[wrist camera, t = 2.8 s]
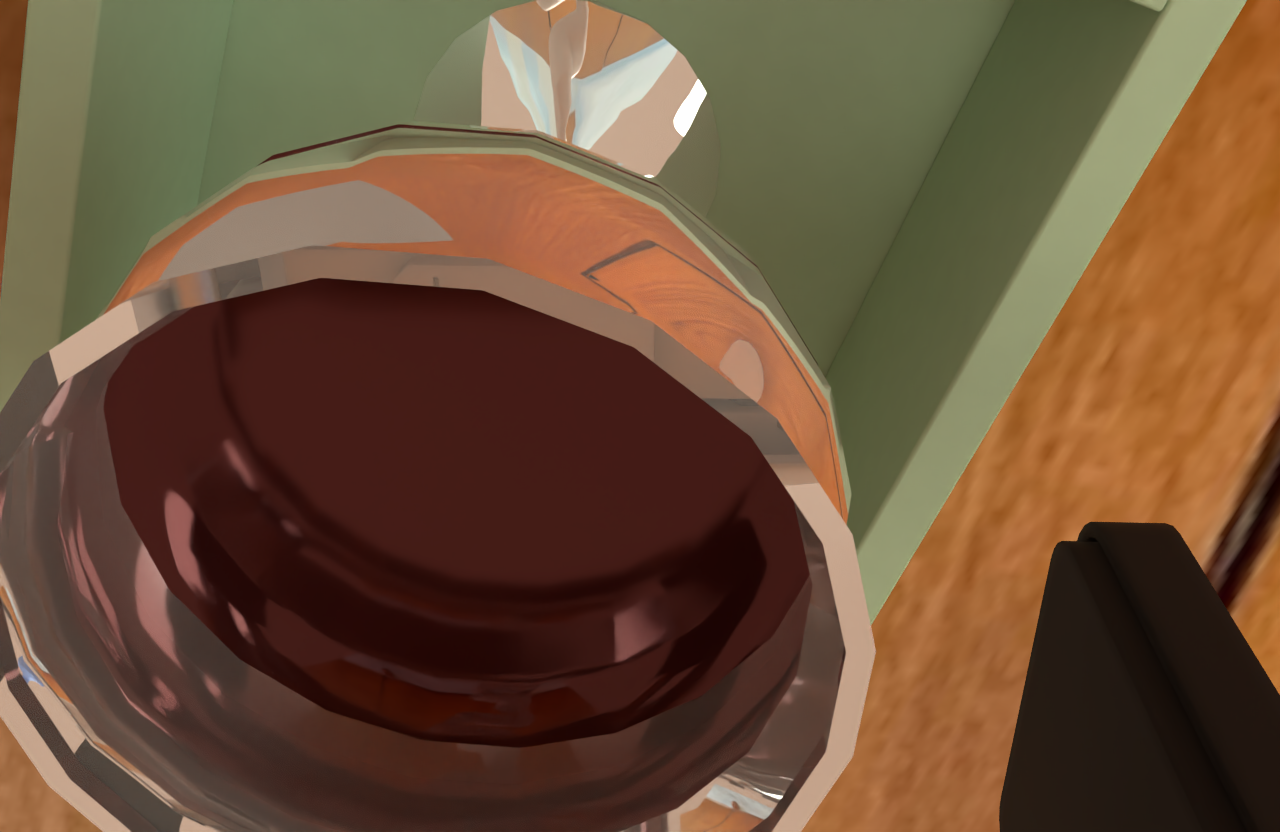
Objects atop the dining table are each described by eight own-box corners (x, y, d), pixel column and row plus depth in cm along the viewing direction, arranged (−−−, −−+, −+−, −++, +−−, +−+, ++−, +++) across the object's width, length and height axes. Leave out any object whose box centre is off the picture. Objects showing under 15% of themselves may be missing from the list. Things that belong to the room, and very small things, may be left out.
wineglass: (863, 182, 19) (1068, 722, 9) (556, 416, 21) (430, 1058, 11) (578, -173, 17) (390, -14, 6) (268, 135, 19) (-240, 620, 9)
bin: (132, 348, 22) (-23, 519, 17) (261, -456, 15) (75, -536, 11) (771, 553, 23) (792, 759, 19) (1112, -96, 17) (1269, -32, 13)
